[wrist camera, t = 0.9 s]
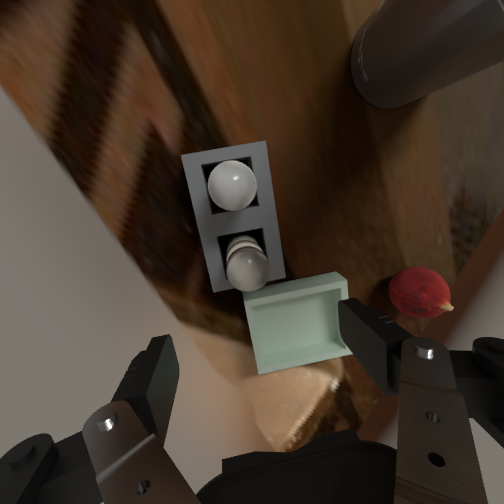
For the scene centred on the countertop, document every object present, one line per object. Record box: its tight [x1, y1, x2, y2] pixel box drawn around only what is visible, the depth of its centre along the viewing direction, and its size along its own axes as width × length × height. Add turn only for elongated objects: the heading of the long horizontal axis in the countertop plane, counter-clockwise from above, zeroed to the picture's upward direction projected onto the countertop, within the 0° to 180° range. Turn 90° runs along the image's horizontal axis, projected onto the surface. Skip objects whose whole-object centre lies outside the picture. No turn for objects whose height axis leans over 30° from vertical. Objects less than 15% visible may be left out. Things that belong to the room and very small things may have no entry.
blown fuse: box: [226, 231, 271, 292], centre depth 26 cm, size 4×4×9 cm
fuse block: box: [181, 141, 286, 292], centre depth 27 cm, size 8×14×4 cm, turn 10°
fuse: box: [208, 161, 257, 211], centre depth 24 cm, size 4×4×9 cm
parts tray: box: [242, 272, 353, 375], centre depth 31 cm, size 12×10×3 cm
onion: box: [388, 267, 454, 318], centre depth 29 cm, size 6×6×8 cm
